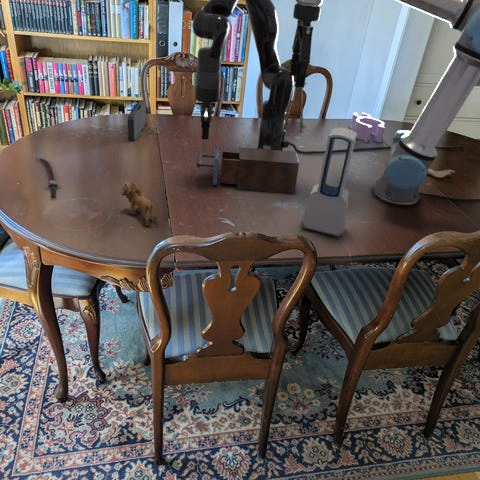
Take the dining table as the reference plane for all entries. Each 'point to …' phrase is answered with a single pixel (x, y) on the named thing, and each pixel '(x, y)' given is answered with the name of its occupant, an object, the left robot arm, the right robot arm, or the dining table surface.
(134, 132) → the handheld gaming console
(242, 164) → the cabinet
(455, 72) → the right robot arm
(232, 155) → the drawer
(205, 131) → the left robot arm
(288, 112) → the miniature windmill
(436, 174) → the jawbone
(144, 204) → the lion figurine
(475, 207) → the dining table surface
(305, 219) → the electronic device
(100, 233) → the dining table surface
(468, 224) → the dining table surface
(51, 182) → the sword
